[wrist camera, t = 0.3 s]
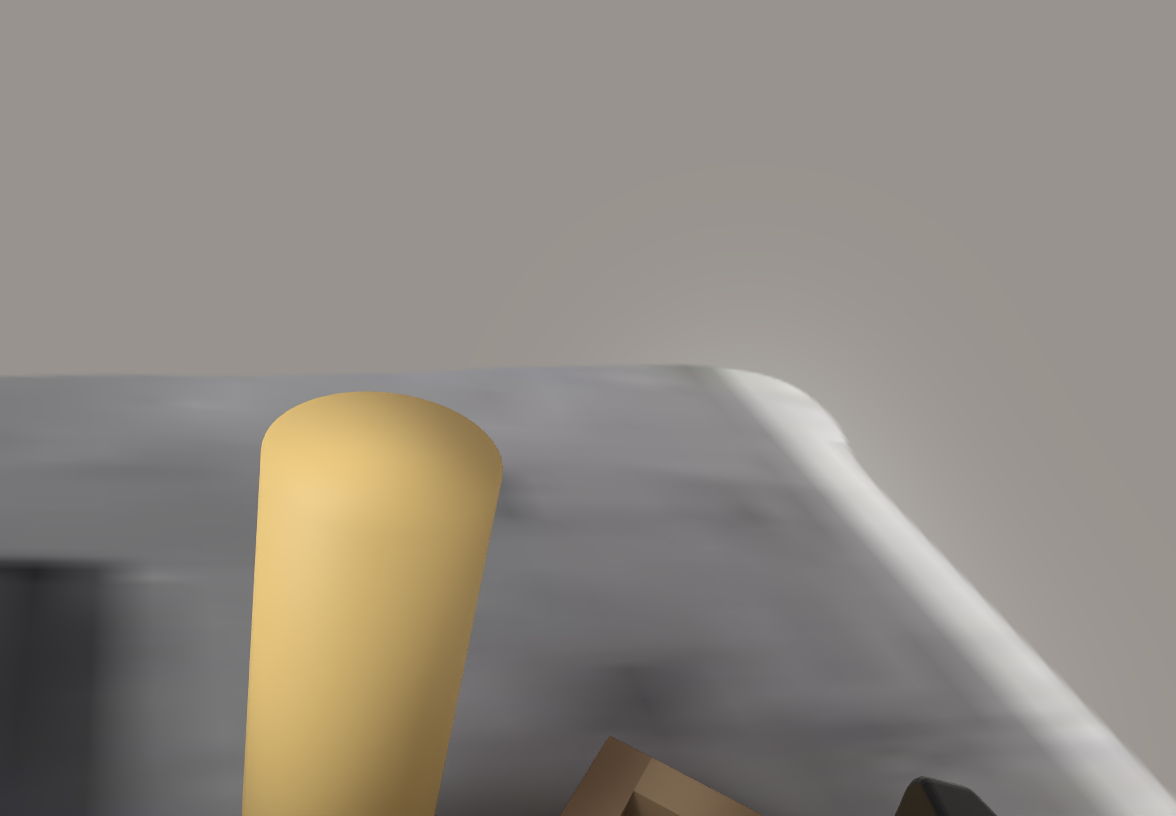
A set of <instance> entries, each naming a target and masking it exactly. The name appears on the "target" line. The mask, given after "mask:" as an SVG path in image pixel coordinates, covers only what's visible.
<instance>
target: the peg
mask: <svg viewBox="0 0 1176 816" xmlns="http://www.w3.org/2000/svg"><path fill="white" fill-rule="evenodd" d="M502 475H503V465H502V459H501V456H500V454H499V451H498V449H497V447H496V446H495V444H494V442H493V441H492V440H491V438H490V437H489V436H488V435H487V434H486V433H485V432H484V431H483V430H482V429H481V428H480V427H479V426H477V425H476V424H475V423H473V422H472V421H471V420H469V419H468V418H466V417H464V416H463V415H461V414H459V413H457V412H455V411H453V410H451V409H449V408H447V407H444V406H442V405H439V404H436V403H434V402H431V401H427V400H424V399H421V398H416V397H412V396H407V395H402V394H395V393H386V392H347V393H339V394H333V395H328V396H323V397H319V398H316V399H313V400H310V401H307V402H305V403H302V404H300V405H297V406H296V407H294V408H292V409H290V410H288V411H287V412H285V413H284V414H283V415H281V416H280V417H279V418H278V419H277V420H276V421H275V422H274V423H273V424H272V425H271V426H270V428H269V429H268V431H267V432H266V434H265V437H264V439H263V442H262V448H261V462H260V481H259V500H258V519H257V538H256V557H255V576H254V595H253V614H252V633H251V651H250V670H249V689H248V708H247V727H246V746H245V765H244V784H243V803H242V816H434V815H435V810H436V805H437V800H438V795H439V790H440V785H441V780H442V775H443V770H444V765H445V760H446V755H447V750H448V745H449V740H450V735H451V730H452V725H453V720H454V715H455V710H456V705H457V700H458V695H459V690H460V685H461V680H462V675H463V670H464V665H465V660H466V655H467V650H468V645H469V640H470V635H471V630H472V625H473V620H474V615H475V610H476V605H477V600H478V595H479V590H480V585H481V580H482V575H483V570H484V565H485V560H486V555H487V550H488V545H489V540H490V535H491V530H492V525H493V520H494V515H495V510H496V505H497V500H498V495H499V490H500V485H501V480H502Z"/></svg>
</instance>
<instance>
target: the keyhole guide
mask: <svg viewBox="0 0 1176 816" xmlns="http://www.w3.org/2000/svg"><path fill="white" fill-rule="evenodd" d="M560 816H763V815H761V814H759V813H757V812H755V811H753V810H751V809H750V808H748V807H746V806H744V805H742V804H740V803H738V802H736V801H734V800H732V799H730V798H729V797H727V796H725V795H723V794H721V793H719V792H717V791H715V790H713V789H711V788H709V787H707V786H706V785H704V784H702V783H700V782H698V781H696V780H694V779H692V778H690V777H688V776H686V775H684V774H683V773H681V772H679V771H677V770H675V769H673V768H671V767H669V766H667V765H665V764H663V763H661V762H660V761H658V760H656V759H654V758H652V757H650V756H648V755H646V754H644V753H642V752H640V751H639V750H637V749H635V748H633V747H631V746H629V745H627V744H625V743H623V742H621V741H619V740H617V739H616V738H614V737H612V736H609V737H608V739H607V740H606V742H605V744H604V745H603V747H602V749H601V750H600V752H599V753H598V755H597V757H596V758H595V760H594V761H593V763H592V765H591V766H590V768H589V770H588V771H587V773H586V774H585V776H584V778H583V779H582V781H581V783H580V784H579V786H578V787H577V789H576V791H575V792H574V794H573V796H572V797H571V799H570V800H569V802H568V804H567V805H566V807H565V808H564V810H563V812H562V813H561V815H560Z"/></svg>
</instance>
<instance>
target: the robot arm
mask: <svg viewBox="0 0 1176 816" xmlns="http://www.w3.org/2000/svg"><path fill="white" fill-rule="evenodd" d="M895 816H997V815H996V814H995V813H994V812H993V811H992V810H991V809H990V808H989V807H988V806H987V805H986V804H985V803H984V802H983V801H982V800H981V799H980V798H979V797H978V796H977V795H976V794H975V793H974V792H973V791H972V790H971V789H969V788H967V787H965V786H962V785H958V784H954V783H950V782H946V781H942V780H938V779H934V778H929V777H925V776H921V777H919V778H916V779H914V780H913V781H912V782H911V783H910V785H909V786H908V787H907V789H906V791H905V793H904V796H903V798H902V800H901V803H900V805H899V807H898V809H897V812H896V814H895Z"/></svg>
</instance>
